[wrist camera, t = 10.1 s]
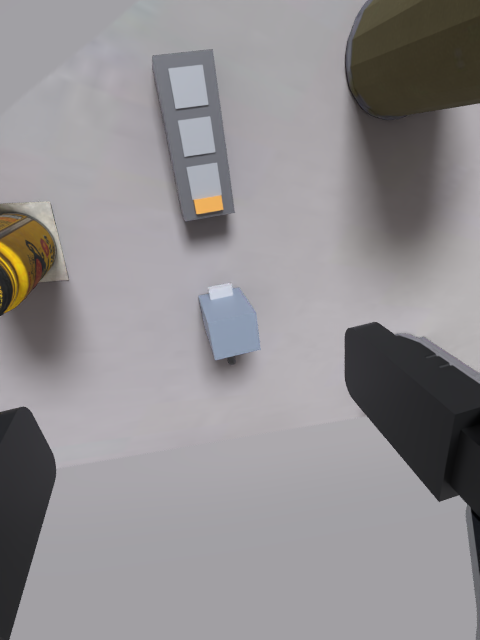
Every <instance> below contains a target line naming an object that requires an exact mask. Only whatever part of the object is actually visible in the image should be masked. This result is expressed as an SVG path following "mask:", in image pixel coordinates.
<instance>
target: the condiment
mask: <svg viewBox="0 0 480 640" xmlns="http://www.w3.org/2000/svg"><path fill="white" fill-rule="evenodd" d="M62 280H69V279H68V275H67V271H66V266H65V262H64V257H63V253H62V249H61V245H60V241H59V237H58V233H57V229H56V225H55V221H54V217H53V213H52V209H51V205H50V201H49V202H26V203H5V204H0V316H1V315H3V314H4V313H6V312H8V311H10V310H12V309H14V308H15V307H17V306H18V305H19V304H20V303H21V302H22V301H23V300H24V299H25V298H26V297H27V295H28V294H29V293H30V292H31V291H32V290H33V289H34V288H35V287H36V285H37V284H38V283H39V282H50V281H62Z"/></svg>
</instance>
